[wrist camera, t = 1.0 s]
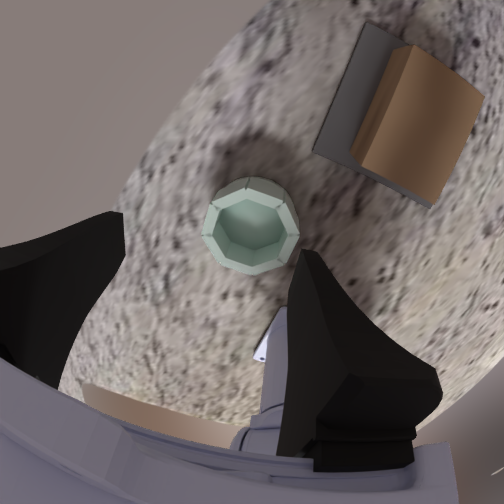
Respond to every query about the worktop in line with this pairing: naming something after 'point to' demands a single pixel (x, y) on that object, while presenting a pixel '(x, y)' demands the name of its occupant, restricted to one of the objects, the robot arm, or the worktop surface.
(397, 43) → the mat
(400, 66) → the cardboard brown block
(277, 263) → the bowl
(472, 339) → the worktop surface
